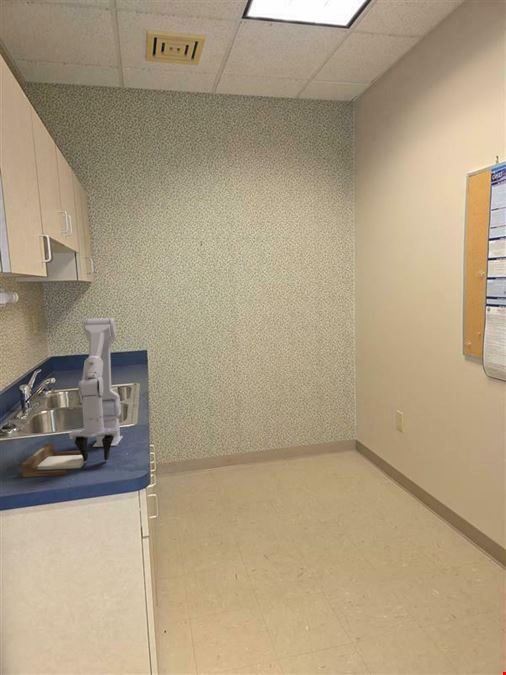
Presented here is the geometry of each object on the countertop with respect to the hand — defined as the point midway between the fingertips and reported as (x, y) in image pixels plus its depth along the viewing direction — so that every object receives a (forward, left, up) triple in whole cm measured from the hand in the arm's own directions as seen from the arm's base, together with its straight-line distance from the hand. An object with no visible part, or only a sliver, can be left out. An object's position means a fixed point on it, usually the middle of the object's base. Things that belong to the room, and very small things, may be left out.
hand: (96, 459), depth 135 cm
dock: (0, -12, -1) cm, 12 cm away
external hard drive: (0, -10, -1) cm, 10 cm away
